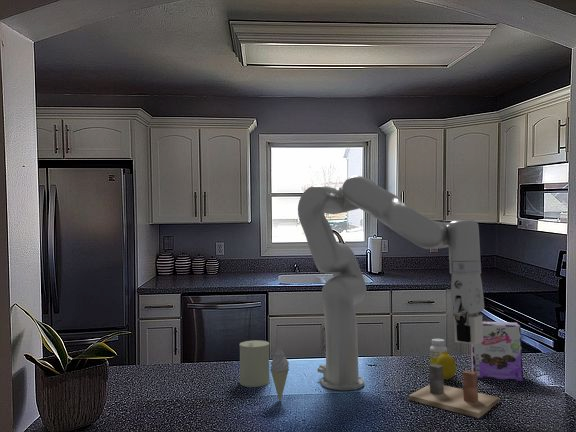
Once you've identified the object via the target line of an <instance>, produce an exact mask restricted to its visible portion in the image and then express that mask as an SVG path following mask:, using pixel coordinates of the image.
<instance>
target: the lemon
mask: <svg viewBox="0 0 576 432" xmlns="http://www.w3.org/2000/svg"><path fill="white" fill-rule="evenodd" d="M437 365H442V366H443V379H445V381H448V380H449V379H451V378H453V377H454V376H455V374H456V372H457V364H456V360H455V358H453V356H452V355H450V354H449V353H448V354H447V353H444V354H442V355H440V356H439V357H438V359H437Z"/></svg>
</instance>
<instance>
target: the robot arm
mask: <svg viewBox="0 0 576 432" xmlns="http://www.w3.org/2000/svg"><path fill="white" fill-rule="evenodd" d="M359 209H360V210H361V211H363V212H365V213H366V214H367V215H369V216H371V217H373V218H375V219H376V220H378V221H380V222H381V223H382V224H383V225H385V226H386V227H388V228H389V229H391V230H392V231H394V232H395V233H397V234H398V235H400V236H401V237H403V238H404V239H406V240H408V241H410V242H411V243H413V244H414V245H416V246H417V247H420V248H422V249H425V250H438V249H445V248H448V259H449V260H448V261H449V274H450V275H451V281H450V283H451V284H450V299H451V302H450V303H451V309H452V316H453V318H454V317H455V320H456V325H457V340H458V341H463V342H470V341H471V336H470V326H468V322H469V314H475V315H481V314H480V312H483V311H484V309H485V300H484V299H485V298H484V288H483V282H482V275H481V274H482V263H481V245H480V243H481V242H480V228H479V227H480V226H479V223H478V222H477V221H476V220H471V219H462V220H461V219H460V220H453V221H450V222H444V221H443V222H442V221H437V220H432V219H430V218H428V217H426V216H425V215H423V214H421V213H420V212H418V211H416V210H415V209H412V208H411V207H409V206H408V205H406V204H405V203H404V202H403V200H402V199H401V198H400V197H399V196H398V195H396V194H394V193H392V192H390V191H389V190H387V189H384V187H381V186H379V185H378V184H376V182H375V181H373V180H372V179H369V178H366V177H365V176H362V175H361V176H360V175H352V176H350V177H347V179H345V181H344V182H343V184H342V186H341V187H336V188H335V187H333V186H332V187H331V186H328V185H323V184H316V185H311V186H309V187H307V188H306V189H305V190H304V191H303V192H302V194H301V196H300V198H299V202H298V205H297V216H298V219H299V223H300V225H301V228H302V231H303V234H304V236H305V239H306V241H307V245H308V247H309V251H310V253H311V256H312V260H313V262H314V265H315V266H316V267H315V268H316V269H317V271H319V272H320V273H322V274H327V275H328V274H332V276H333V277H331V278H330V279H328V280H326V282H325V283H324V285H323V286H322V290H321V301H322V307H323V312H324V314H323V315H324V332H325V333H324V336H325V340H324V341H325V364H322V363H321V364H320V365H319V367H318V368H317V370H316V371H317V373H320V374H323V377H322V378H321V380H320V384H321V385H322V387H324V388H326V389H329V390H333V391H334V390H335V391H354V390H358V389H361V388H362V387H364V385H365V380H364V378H362V377H360V376H359V350H358V348H359V344H358V342H359V341H358V338H359V337H358V320H357V315H356V311H355V310H356V309H355V305H358V304H360V303H362V302H363V301H364V299H365V298H366V296H367V285H366V282H365V278H364V276H363V273H362V271H361V268H360V265H359V262H358V260H357V257H356V255H355V253H354V251H353V250H352V248H351V247H349V245H347V244H345V243H342V242H338V241H337V239H336V237H335V235H334V232H333V229H332V226H331V224H330V223H329V221H328V220H327V218H326V216H325V214H327V215H328V214H330V215H337V214H342V213H347V212H350V211H356V210H359ZM461 315H464V316H465V319H464V317H463V316H461Z"/></svg>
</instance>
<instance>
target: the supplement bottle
mask: <svg viewBox="0 0 576 432" xmlns="http://www.w3.org/2000/svg"><path fill="white" fill-rule="evenodd" d="M431 344H432V345H431V346H430V347H429V356H430V357H429V358H430V359H429V360H430V365H432V364H436V365H437V359H438V357H439V356H440V355H442V354H444V353H447V354H448V355H449V353H448V348H447V346H445V345H446V341H445V339H443V338H432V339H431Z"/></svg>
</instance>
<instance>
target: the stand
mask: <svg viewBox="0 0 576 432" xmlns="http://www.w3.org/2000/svg"><path fill="white" fill-rule="evenodd" d="M428 369H429V370H428V371H429V372H428V373H429V384H427V385H426V386H425V387H423V388H420V389H419V390H416V391H415V392H413V393H411V394H408V401H411V400H412V401H411V402H414V401H415V402H414V403H418V402H419V404H422V405H427V406H431V407H434V408H437V409H442V410H447V411H449V412H453V413H457V414H461V415H465V416H467V417H468V416H469V417H473V418H477V419H480V418H482V416H484V415H485V414H486V413H488V412H489V411H491V410H492V409H493V408H494V407H495V406H497V405H498V404H499V403H500V402H499V401H500V397H499V396H494V395H489V394H485V393H481V392H479V390H478V389H479V387H478V378H477V372H474V371H472V370H468V369H466V370H464V371H463V372H462V387H463V388H460V387H459V388H457V387H453V386H449V385H444V377H443V366H442V365H436V364H432V365H431V364H430V365H429V366H428ZM498 402H499V403H498ZM497 403H498V404H497ZM496 404H497V405H496ZM493 406H494V407H493ZM492 407H493V408H492ZM491 408H492V409H491Z"/></svg>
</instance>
